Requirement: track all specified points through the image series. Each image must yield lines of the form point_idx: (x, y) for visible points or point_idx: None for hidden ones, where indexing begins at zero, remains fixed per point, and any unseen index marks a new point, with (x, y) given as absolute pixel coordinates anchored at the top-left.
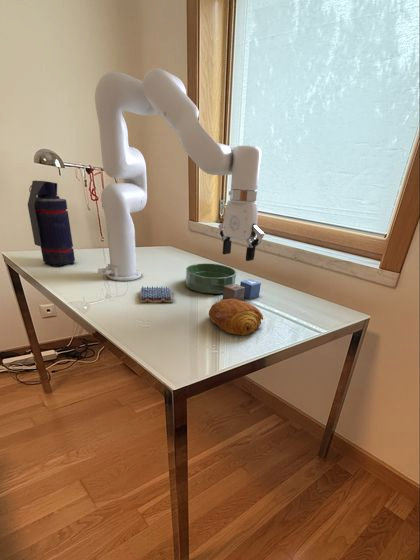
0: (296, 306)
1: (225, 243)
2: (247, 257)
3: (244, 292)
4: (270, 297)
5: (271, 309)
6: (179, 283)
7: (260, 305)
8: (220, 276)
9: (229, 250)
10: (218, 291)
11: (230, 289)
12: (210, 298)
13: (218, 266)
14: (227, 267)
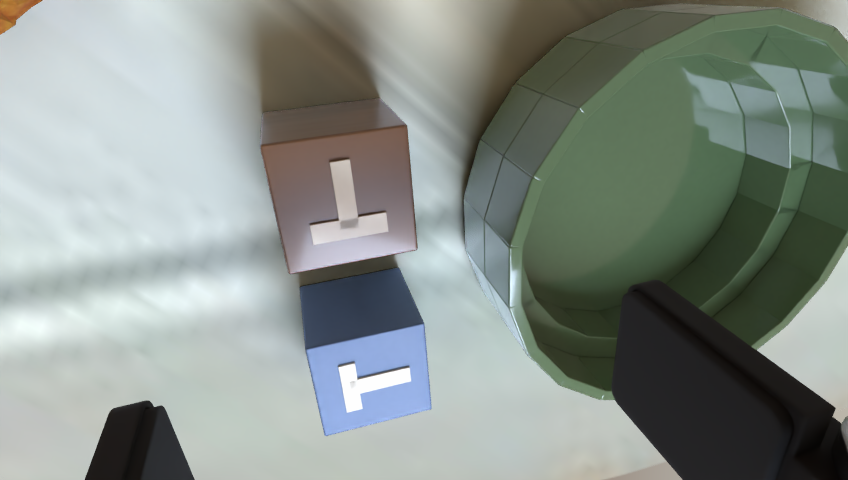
0: (67, 475)
1: (758, 410)
2: (95, 452)
3: (359, 293)
4: (271, 417)
5: (71, 313)
6: None
7: (171, 288)
8: None
9: (639, 403)
10: (485, 144)
11: (314, 134)
12: (455, 36)
13: None
14: None
